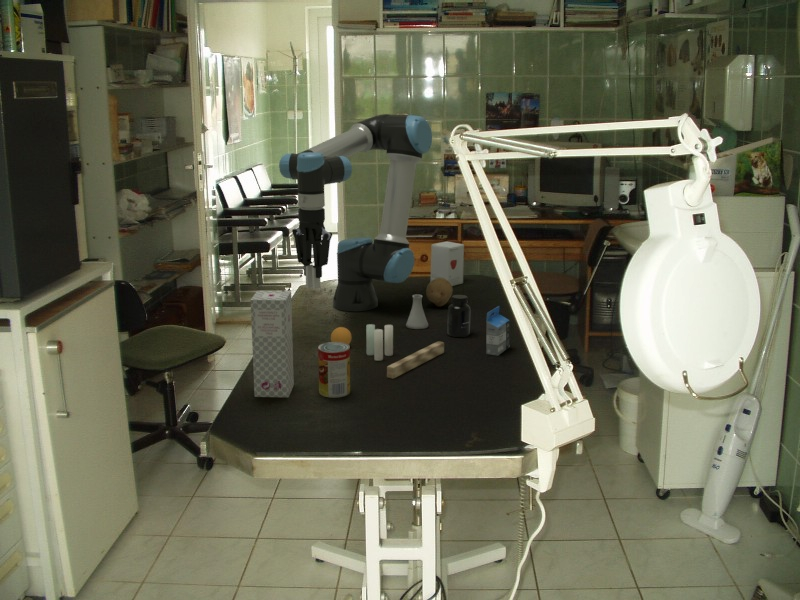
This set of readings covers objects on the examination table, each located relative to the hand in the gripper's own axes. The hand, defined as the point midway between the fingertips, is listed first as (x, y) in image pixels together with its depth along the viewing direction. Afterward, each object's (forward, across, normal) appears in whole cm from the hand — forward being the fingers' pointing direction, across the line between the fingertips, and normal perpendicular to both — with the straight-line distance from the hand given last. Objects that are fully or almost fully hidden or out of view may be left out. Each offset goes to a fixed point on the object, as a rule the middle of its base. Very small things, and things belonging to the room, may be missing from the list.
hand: (313, 287), depth 257 cm
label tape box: (+17, +49, +23) cm, 57 cm away
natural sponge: (+17, +11, +53) cm, 57 cm away
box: (+17, +17, -37) cm, 44 cm away
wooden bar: (+16, +36, 0) cm, 40 cm away
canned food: (+17, +30, -29) cm, 45 cm away
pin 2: (+16, +25, +2) cm, 30 cm away
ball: (+13, +10, 0) cm, 17 cm away
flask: (+17, +17, +30) cm, 38 cm away
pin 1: (+16, +25, -2) cm, 30 cm away
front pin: (+16, +20, 0) cm, 26 cm away
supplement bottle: (+17, +32, +30) cm, 47 cm away
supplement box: (+17, -3, +82) cm, 84 cm away
